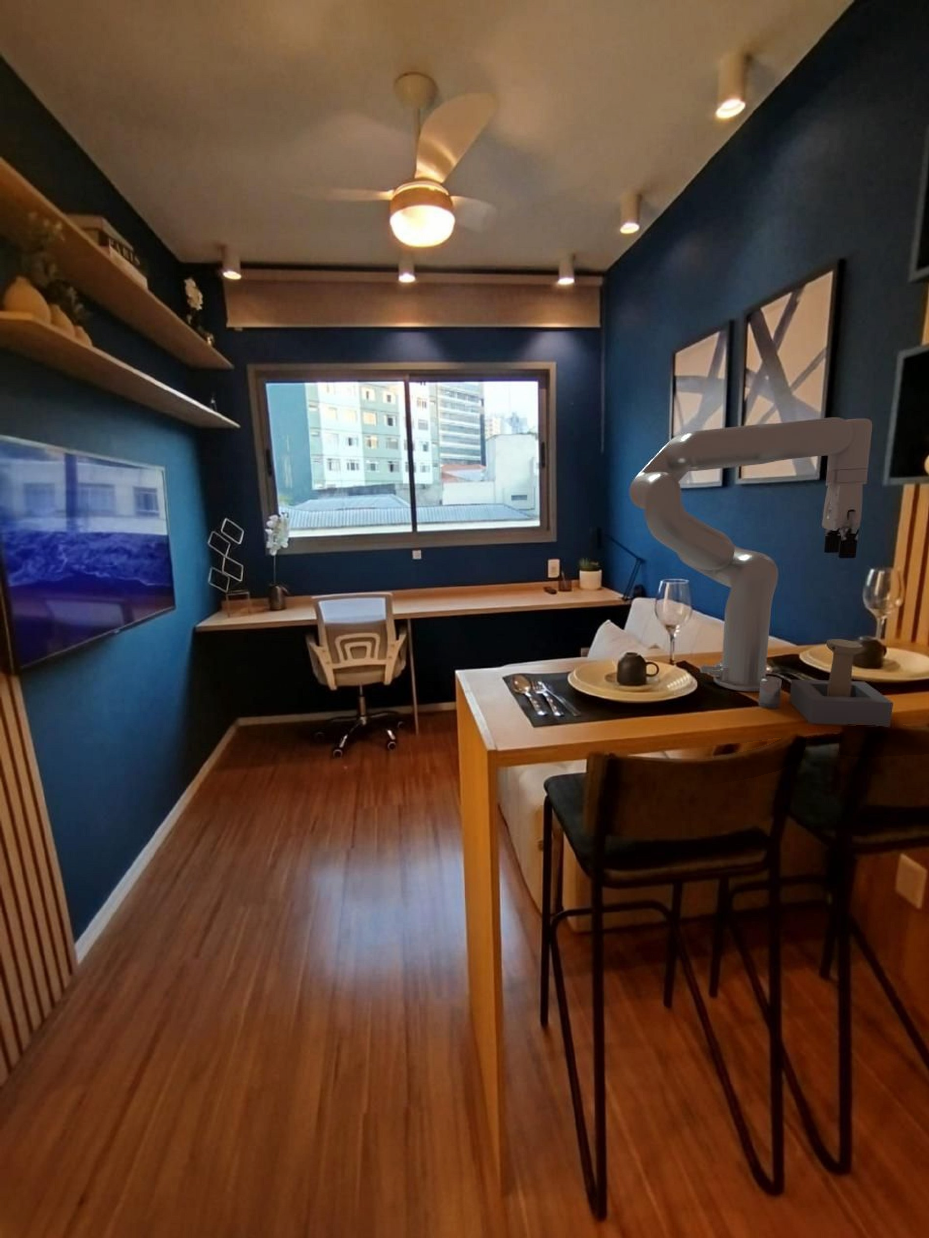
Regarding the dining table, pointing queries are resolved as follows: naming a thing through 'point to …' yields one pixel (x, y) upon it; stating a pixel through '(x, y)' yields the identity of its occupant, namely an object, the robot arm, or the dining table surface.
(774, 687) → the short peg
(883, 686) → the dining table surface
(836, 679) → the handle
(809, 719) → the block
